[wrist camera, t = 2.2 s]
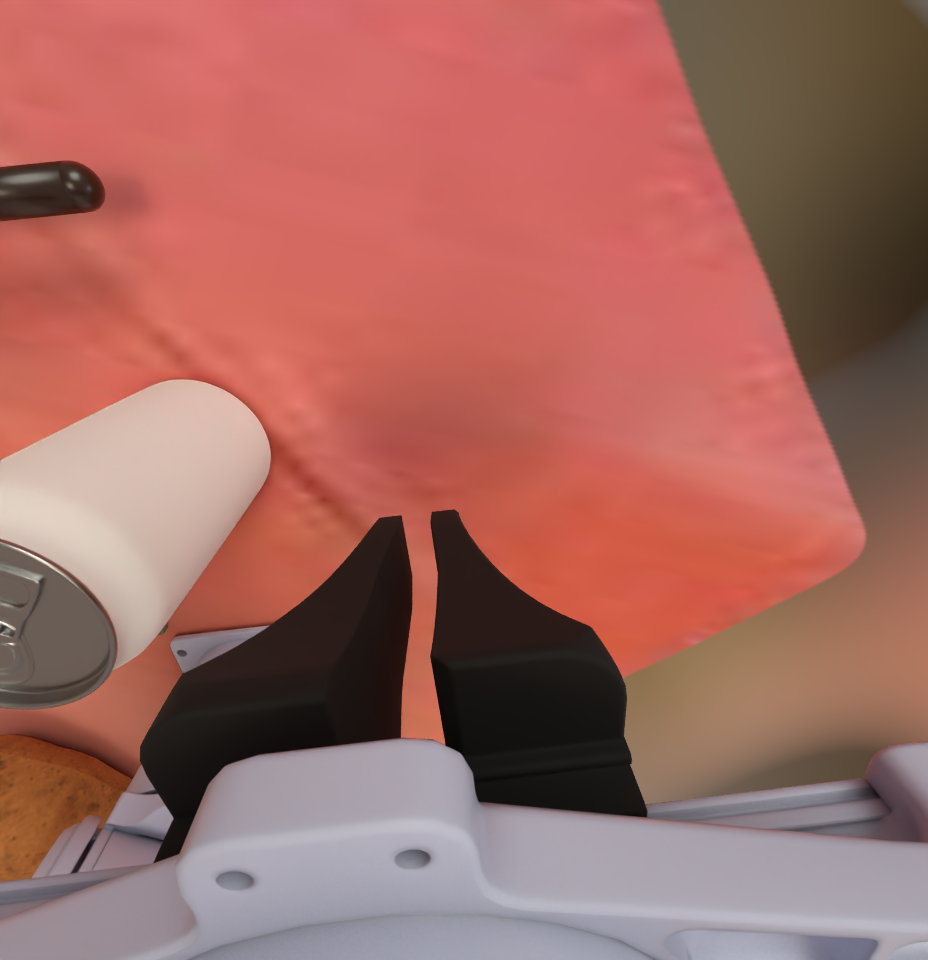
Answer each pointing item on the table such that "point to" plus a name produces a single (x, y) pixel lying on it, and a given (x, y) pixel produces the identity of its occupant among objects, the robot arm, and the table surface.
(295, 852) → the robot arm
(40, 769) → the potato
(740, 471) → the table surface
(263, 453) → the can
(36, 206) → the pan handle
